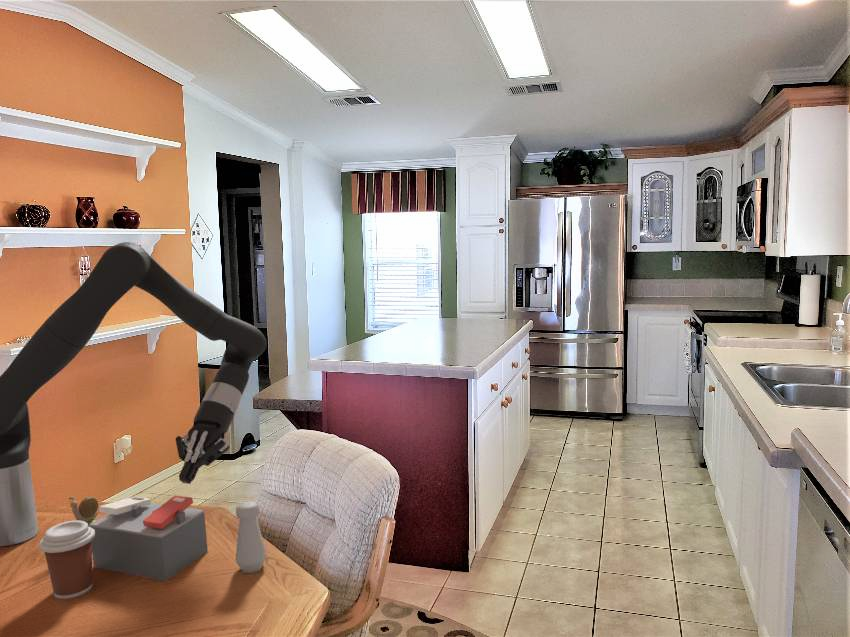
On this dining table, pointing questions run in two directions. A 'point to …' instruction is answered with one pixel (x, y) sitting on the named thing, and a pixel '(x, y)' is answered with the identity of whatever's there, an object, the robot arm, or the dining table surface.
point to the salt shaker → (249, 539)
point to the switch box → (148, 542)
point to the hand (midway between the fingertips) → (184, 481)
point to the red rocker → (167, 512)
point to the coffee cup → (69, 558)
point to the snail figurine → (85, 509)
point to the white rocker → (124, 505)
